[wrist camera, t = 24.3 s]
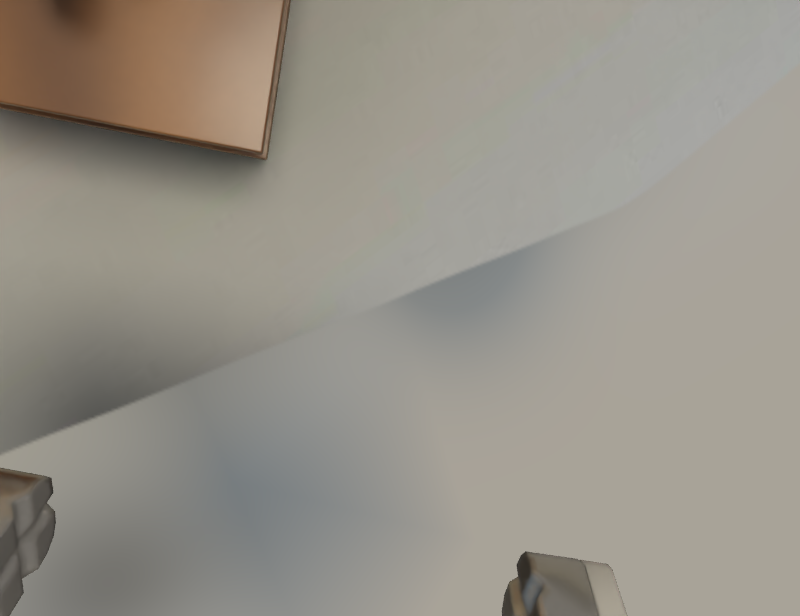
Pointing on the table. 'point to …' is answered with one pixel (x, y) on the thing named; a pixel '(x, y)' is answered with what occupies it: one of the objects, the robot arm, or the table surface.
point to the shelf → (148, 67)
